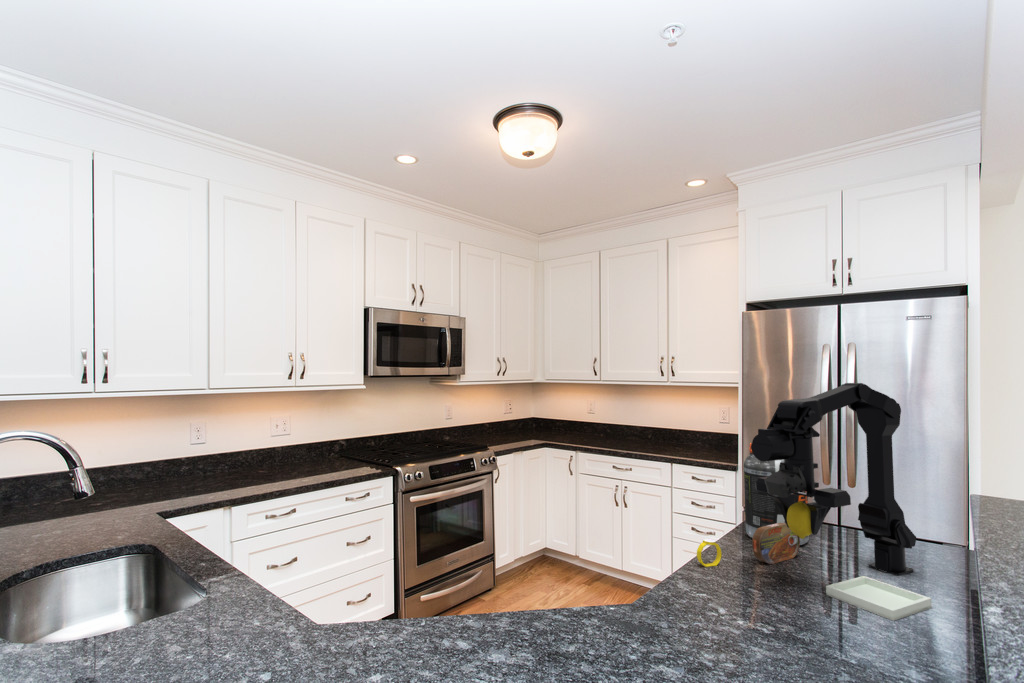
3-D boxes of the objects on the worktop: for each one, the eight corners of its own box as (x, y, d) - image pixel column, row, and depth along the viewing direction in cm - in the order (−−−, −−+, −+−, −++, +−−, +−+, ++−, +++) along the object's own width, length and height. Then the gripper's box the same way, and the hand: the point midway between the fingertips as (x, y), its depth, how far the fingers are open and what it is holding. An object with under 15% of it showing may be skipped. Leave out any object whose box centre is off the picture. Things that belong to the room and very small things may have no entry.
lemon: (820, 543, 109) (818, 504, 109) (792, 542, 110) (790, 503, 111) (811, 535, 114) (809, 498, 115) (784, 534, 115) (782, 497, 116)
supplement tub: (809, 552, 132) (805, 449, 134) (742, 542, 140) (739, 445, 142) (809, 535, 146) (806, 443, 148) (749, 527, 154) (746, 439, 156)
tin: (761, 566, 122) (760, 530, 123) (750, 562, 125) (749, 527, 125) (801, 556, 129) (800, 522, 130) (789, 553, 132) (788, 519, 132)
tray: (864, 584, 111) (863, 575, 112) (931, 607, 100) (931, 598, 100) (826, 594, 106) (825, 585, 106) (893, 620, 95) (893, 610, 95)
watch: (715, 563, 125) (716, 538, 125) (723, 567, 122) (724, 541, 123) (694, 564, 123) (695, 538, 124) (701, 568, 121) (702, 542, 121)
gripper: (737, 455, 118) (740, 524, 117) (814, 468, 101) (818, 549, 100) (771, 451, 123) (774, 518, 122) (850, 463, 106) (854, 541, 105)
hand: (802, 531), depth 112 cm, fingers closed on lemon, 5 cm apart
